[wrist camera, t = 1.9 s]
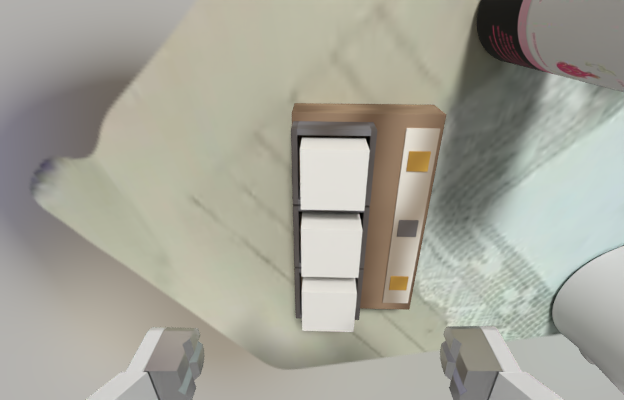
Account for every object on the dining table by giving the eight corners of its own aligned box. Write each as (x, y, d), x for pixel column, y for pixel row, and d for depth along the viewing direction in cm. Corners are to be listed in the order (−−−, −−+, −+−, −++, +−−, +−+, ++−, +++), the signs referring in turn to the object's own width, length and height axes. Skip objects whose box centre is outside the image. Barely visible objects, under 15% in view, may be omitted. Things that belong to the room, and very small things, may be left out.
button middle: (359, 212, 27) (362, 230, 24) (355, 257, 29) (358, 277, 27) (302, 211, 27) (300, 229, 25) (303, 256, 29) (301, 276, 27)
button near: (365, 137, 24) (369, 150, 22) (360, 194, 26) (364, 210, 24) (302, 137, 24) (299, 149, 22) (302, 193, 26) (300, 209, 24)
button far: (354, 272, 30) (356, 293, 27) (351, 310, 32) (353, 332, 29) (303, 271, 30) (301, 292, 27) (303, 308, 32) (302, 330, 30)
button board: (434, 104, 27) (455, 122, 23) (402, 287, 36) (413, 325, 32) (294, 103, 27) (289, 120, 23) (298, 285, 36) (294, 322, 32)
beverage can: (585, 22, 24) (903, 32, 11) (495, 79, 26) (672, 146, 13) (555, -72, 22) (917, -206, 8) (458, -1, 24) (629, -21, 10)
